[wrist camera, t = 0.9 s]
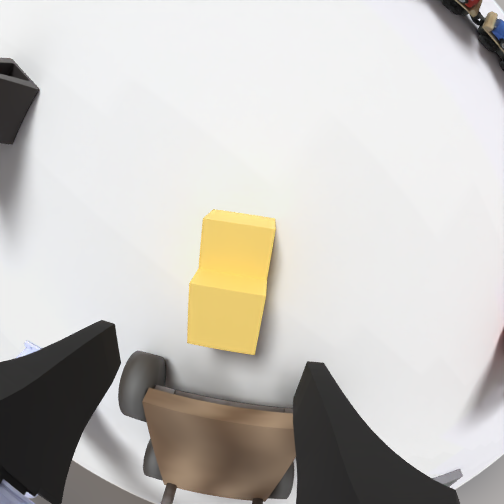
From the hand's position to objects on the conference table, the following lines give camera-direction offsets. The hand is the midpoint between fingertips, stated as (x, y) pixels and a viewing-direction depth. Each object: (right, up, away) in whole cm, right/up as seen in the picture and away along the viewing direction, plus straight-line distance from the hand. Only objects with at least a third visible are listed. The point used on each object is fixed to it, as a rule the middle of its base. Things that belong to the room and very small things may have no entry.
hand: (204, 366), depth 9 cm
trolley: (-1, -14, +15) cm, 21 cm away
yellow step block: (+1, +3, +10) cm, 10 cm away
